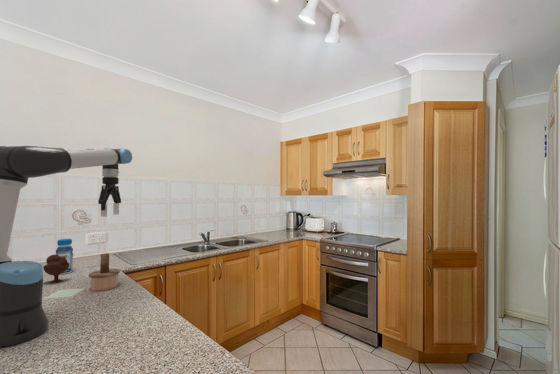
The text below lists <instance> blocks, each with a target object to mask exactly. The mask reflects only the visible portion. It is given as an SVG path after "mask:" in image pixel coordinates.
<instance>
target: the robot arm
mask: <svg viewBox="0 0 560 374" xmlns="http://www.w3.org/2000/svg"><path fill="white" fill-rule="evenodd" d="M132 160H133V153H132V151H131V150H130V149H128V148H109V147H107V148H103V149H101V148H100V149H95V148H85V149H66V148H63V147H45V146H37V145H16V146H15V145H13V146H11V145H10V146H7V145H1V146H0V348H3V347H2V346H6V347H9V345H11V346H15V345H17V344H21V343H24V342H26V341H30V340H32V339H34V338H37V337H38V336H40V335H42V334H44V333H45V332H46V331H48V328H49V319H48V317H47V315H46V313H45V310H44V308H43V303H42V302H43V287H44V286H43V284H44V283H43V282H44V272H43V271H44V269H43V266H42V263H40V262H39V261H38V262H37V261H33V260H21V261H20V260H13V259H12V258H11V257H10V256H8V253H9V252H8V251H9V247H10V242H11V238H12V232H13V228H14V227H13V226H14V222H15V217H16V212H17V207H18V203H19V199H20V198H19V197H20V193H21V189H23V188H24V187H26V186H27V185H28V182H29V179H30V178H31V179H34V178H40V177H45V176H48V175H49V176H50V175H56V174H60V173H67V172H69V170H73V169H74V170H75V169H83V168H92V167H101V166H102V169H101V170H102V173H101V174H102V180H101V181H102V182H101V183H102V185H101V189H100V194H99V198H98V202H97V203H98V204H99V205H100V217H102V218H103V217H108V199H109V198H110V196H111V198H112V201H113V202H112V203H113V205H112V211H113V213H112V215H115V216H116V215H120V204H121V203H122V199H121V194H120V190H119V187H120V186H118V185H119V183H120V182H119V173H120V171H119V165H126V164H130V163H131V162H132ZM14 344H15V345H14Z"/></svg>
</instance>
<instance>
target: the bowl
mask: <svg viewBox="0 0 560 374" xmlns="http://www.w3.org/2000/svg"><path fill="white" fill-rule="evenodd" d="M118 285H119V273H118V274H116V275H113V276H109V277H103V278H90V291H92V292H102V291H107V290H111V289H114V288H117V287H118Z"/></svg>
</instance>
